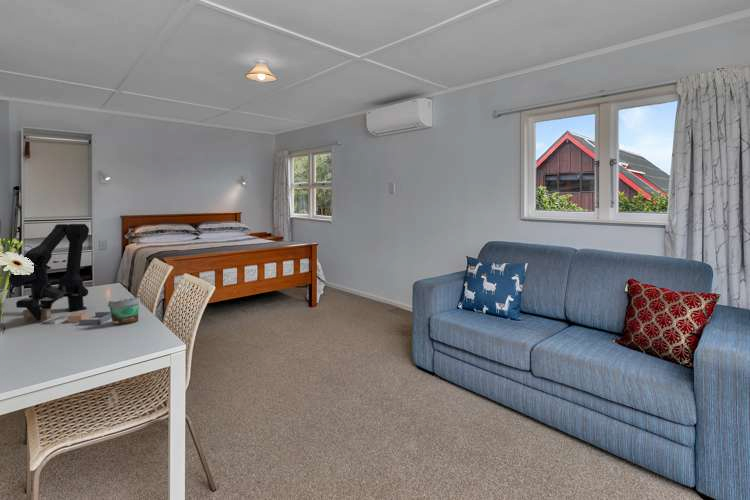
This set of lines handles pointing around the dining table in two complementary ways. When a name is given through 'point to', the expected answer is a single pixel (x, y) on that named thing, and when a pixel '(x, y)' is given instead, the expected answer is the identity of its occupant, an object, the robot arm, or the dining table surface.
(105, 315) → the frame
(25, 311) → the turner
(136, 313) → the food container
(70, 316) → the salmon pink box
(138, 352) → the dining table surface
